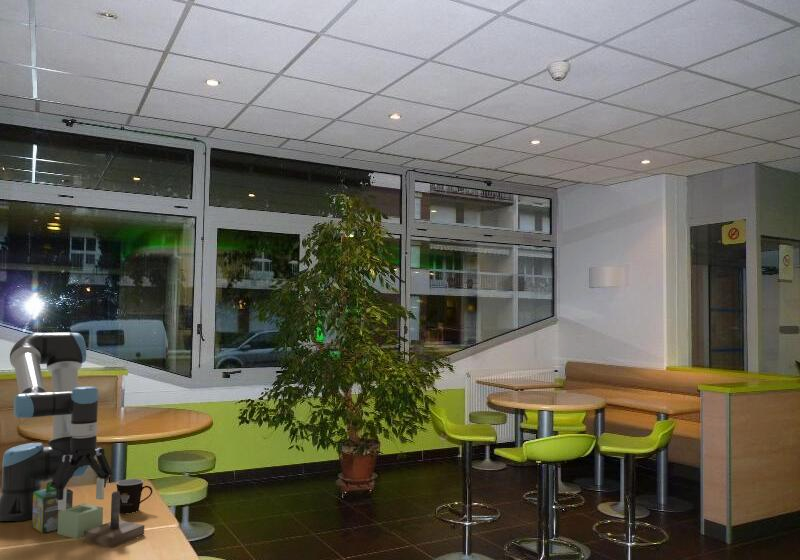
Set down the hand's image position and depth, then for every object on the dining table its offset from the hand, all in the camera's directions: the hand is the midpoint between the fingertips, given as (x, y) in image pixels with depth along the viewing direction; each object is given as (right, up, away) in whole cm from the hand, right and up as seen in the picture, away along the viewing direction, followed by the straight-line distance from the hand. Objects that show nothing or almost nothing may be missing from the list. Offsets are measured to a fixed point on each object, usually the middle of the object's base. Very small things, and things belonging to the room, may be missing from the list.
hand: (81, 504), depth 200 cm
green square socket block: (0, -9, 0) cm, 9 cm away
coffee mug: (+7, -10, +21) cm, 24 cm away
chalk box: (-12, -9, +4) cm, 15 cm away
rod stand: (+13, -9, -5) cm, 16 cm away
